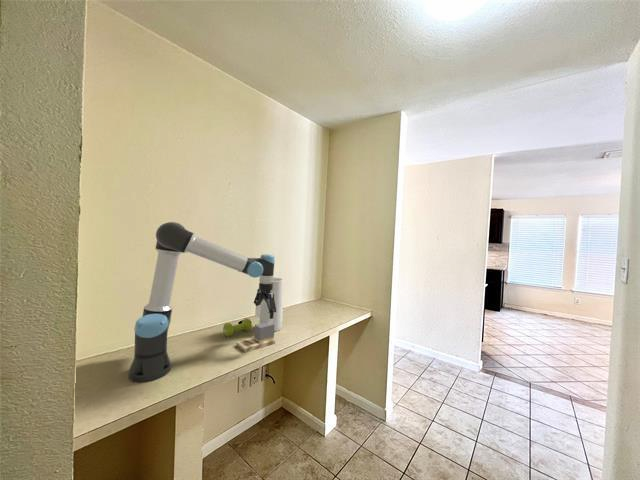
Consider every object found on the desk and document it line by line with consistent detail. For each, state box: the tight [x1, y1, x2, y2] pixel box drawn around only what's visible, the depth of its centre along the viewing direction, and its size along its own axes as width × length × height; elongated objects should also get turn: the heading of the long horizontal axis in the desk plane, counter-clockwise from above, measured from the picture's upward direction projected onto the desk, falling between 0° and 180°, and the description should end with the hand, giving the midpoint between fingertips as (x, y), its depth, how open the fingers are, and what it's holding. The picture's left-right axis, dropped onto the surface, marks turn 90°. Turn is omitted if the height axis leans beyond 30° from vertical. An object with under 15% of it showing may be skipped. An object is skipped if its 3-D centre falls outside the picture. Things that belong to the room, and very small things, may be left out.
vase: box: [258, 276, 285, 332], centre depth 168 cm, size 14×14×32 cm
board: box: [236, 336, 276, 353], centre depth 144 cm, size 18×10×2 cm, turn 132°
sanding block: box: [253, 322, 275, 343], centre depth 147 cm, size 9×6×8 cm, turn 132°
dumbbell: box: [222, 317, 253, 338], centre depth 158 cm, size 16×8×7 cm, turn 137°
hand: (263, 320), depth 146 cm, fingers open, 13 cm apart
